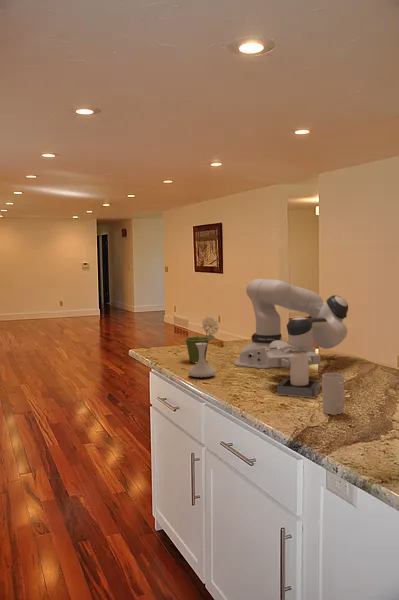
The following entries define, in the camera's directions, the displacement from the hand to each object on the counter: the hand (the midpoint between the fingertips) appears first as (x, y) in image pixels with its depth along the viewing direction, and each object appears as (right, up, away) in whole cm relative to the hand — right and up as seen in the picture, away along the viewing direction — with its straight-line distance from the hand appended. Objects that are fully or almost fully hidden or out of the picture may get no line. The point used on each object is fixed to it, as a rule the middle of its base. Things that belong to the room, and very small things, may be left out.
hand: (299, 363), depth 197 cm
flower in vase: (-34, -9, +29) cm, 46 cm away
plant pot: (-37, -6, +58) cm, 69 cm away
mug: (+7, -13, -25) cm, 29 cm away
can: (0, -8, +1) cm, 8 cm away
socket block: (0, -11, +2) cm, 11 cm away
